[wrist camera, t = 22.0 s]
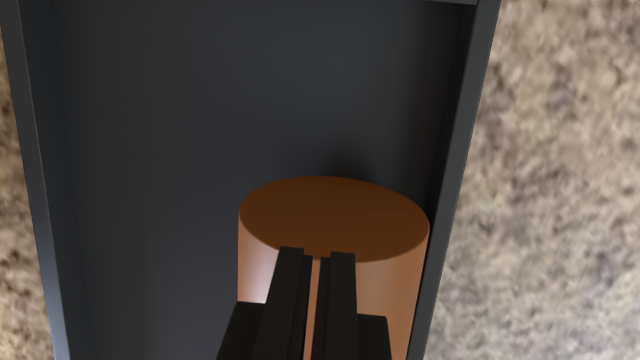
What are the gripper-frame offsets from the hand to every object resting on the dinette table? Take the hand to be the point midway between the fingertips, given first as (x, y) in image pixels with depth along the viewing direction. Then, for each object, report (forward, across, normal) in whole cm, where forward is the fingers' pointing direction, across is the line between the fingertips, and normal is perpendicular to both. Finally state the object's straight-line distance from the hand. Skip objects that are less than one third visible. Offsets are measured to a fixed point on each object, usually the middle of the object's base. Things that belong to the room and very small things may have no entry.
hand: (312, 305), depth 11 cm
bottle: (+7, 0, +1) cm, 7 cm away
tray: (+11, +4, +10) cm, 15 cm away
